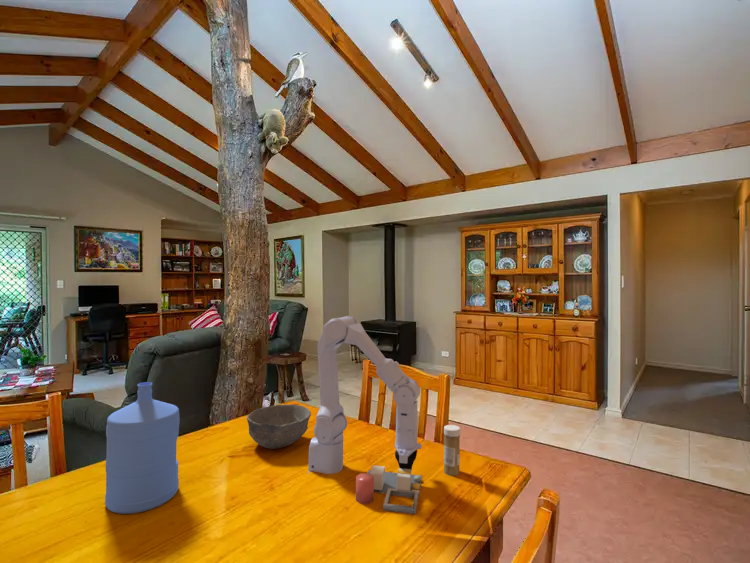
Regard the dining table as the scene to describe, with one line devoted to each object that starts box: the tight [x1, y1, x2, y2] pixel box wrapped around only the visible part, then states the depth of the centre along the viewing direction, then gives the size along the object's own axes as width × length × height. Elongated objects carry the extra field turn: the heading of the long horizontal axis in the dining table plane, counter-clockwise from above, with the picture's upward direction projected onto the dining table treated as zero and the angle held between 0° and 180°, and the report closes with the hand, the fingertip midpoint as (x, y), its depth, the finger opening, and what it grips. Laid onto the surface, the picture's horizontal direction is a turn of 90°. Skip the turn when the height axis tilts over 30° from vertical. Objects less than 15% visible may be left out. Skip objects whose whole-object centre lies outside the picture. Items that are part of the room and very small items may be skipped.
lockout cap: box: [355, 472, 375, 505], centre depth 96 cm, size 4×4×6 cm
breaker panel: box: [367, 469, 423, 498], centre depth 104 cm, size 15×11×2 cm
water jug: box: [104, 381, 181, 515], centre depth 97 cm, size 16×16×28 cm
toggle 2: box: [397, 467, 412, 491], centre depth 101 cm, size 3×4×4 cm
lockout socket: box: [382, 488, 419, 515], centre depth 95 cm, size 8×8×2 cm
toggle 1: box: [370, 464, 386, 490], centre depth 102 cm, size 3×4×4 cm
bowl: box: [246, 404, 312, 450], centre depth 130 cm, size 21×21×10 cm
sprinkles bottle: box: [443, 424, 461, 477], centre depth 111 cm, size 5×5×14 cm
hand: (405, 478), depth 104 cm, fingers closed
